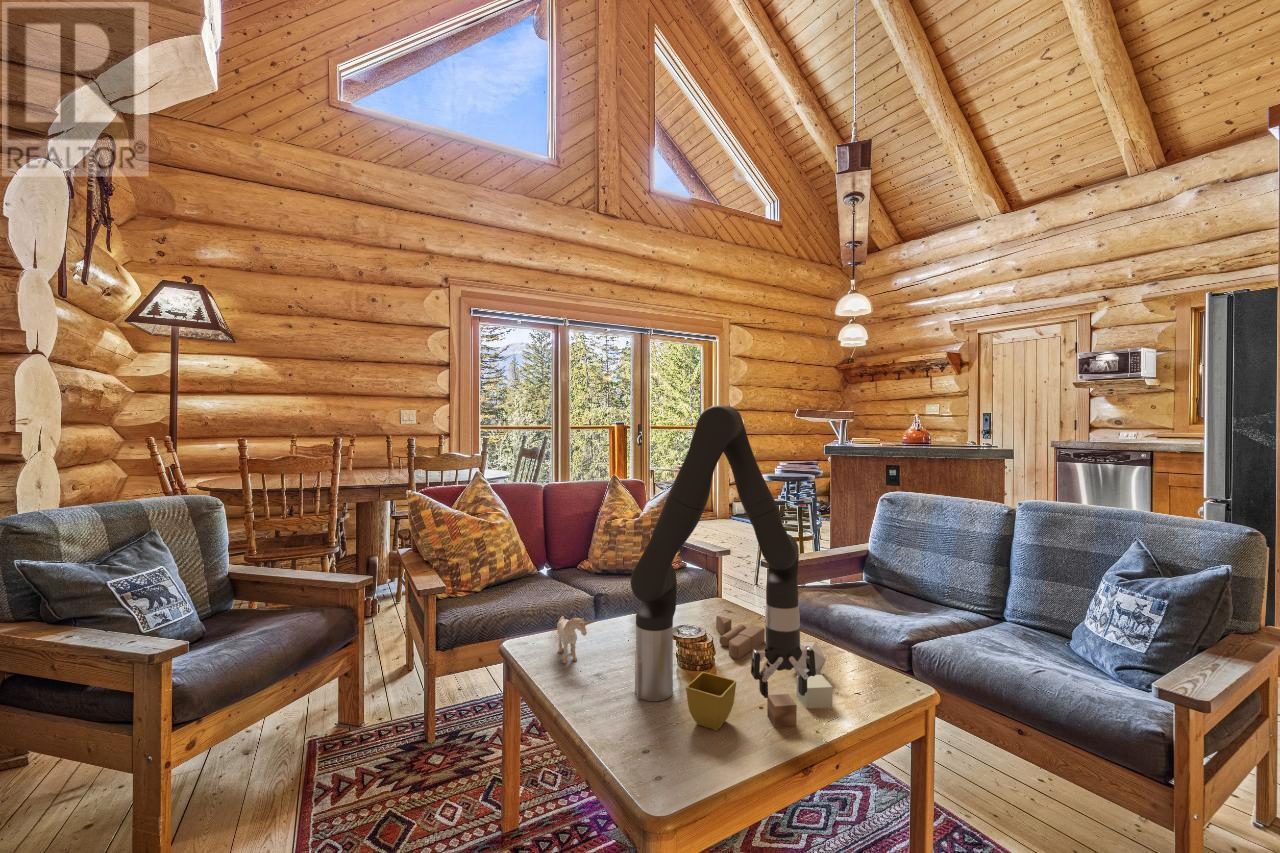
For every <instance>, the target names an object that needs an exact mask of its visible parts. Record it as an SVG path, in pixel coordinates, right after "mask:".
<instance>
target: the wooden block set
mask: <svg viewBox="0 0 1280 853" xmlns="http://www.w3.org/2000/svg"><path fill="white" fill-rule="evenodd" d="M715 619H716V620H715V622H716V623H715V624H716V626H715V628H716V630H717V632H718V633H719V634H720V635H721V636H720V637H719V639H718V640H719V643H720V646H722V647H723V648H724V647H725V648H727V647H728V654H729V656H730V658H731V659H733V660H737V661H738V660H740V659H741V658H742V657H744V656H745V655H746V654H748V653H749V652H752V650H753V649H757V648H758V647H759V646H761V645H762V644H763V643H765V642H766V628H765V627H762V626H757V625H754V624H751V625H750V626H748V627H746V626H745V625H744V624H738V625H737V626H735V627H734V628H732V618H728V617H724V616H721V615H716V618H715Z"/></svg>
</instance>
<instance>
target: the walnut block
mask: <svg viewBox="0 0 1280 853" xmlns="http://www.w3.org/2000/svg"><path fill="white" fill-rule="evenodd" d="M766 700H767V701H766V702H767V705H766V706H767V709H766V710H767V712H766V713H767V714H766V716H767V718H768V720H769V721H770V723H771V725H772V726H773V727H774V729H781V728H782V729H787V728H797V727H798V726H797V725H798V724H797V721H798V720H797V719H798V718H797V712H798V711H797V704H796V702H795V701H794V698H792V696H790V694H789V693H783V694H782V693H781V694H780V693H779V694H768V698H766Z"/></svg>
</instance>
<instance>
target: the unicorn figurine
mask: <svg viewBox="0 0 1280 853" xmlns="http://www.w3.org/2000/svg"><path fill="white" fill-rule="evenodd" d="M584 618H585V617H583V618H580V617H573V618H571V619H565V616H564V615H562V616H561V617H560V618H559V620H558V622H557V624H556V626H557V634H558V645H557V647H558V654H563V653H564V655H562V664H567V662H568V652H569V650H568V645H569V644H570V652H571V655H572V661H573V662H577V661H578V658H577V655H576V648H577V647H576V644H577V641H578V634H577V632H576V630H577V631H579V632H580V633H581V635H582V636H583V637H584V636H585V637H586V635H587V634H588V631H587V628H586V626H588V625H590V624H593V623H596V622H599V619H593V620H590V621H587V622H585V620H584Z"/></svg>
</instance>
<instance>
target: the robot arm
mask: <svg viewBox="0 0 1280 853" xmlns="http://www.w3.org/2000/svg"><path fill="white" fill-rule="evenodd" d="M744 423H745V422H744V420H743V418H742V415H741V413H740V412H739V411H738V410H737V409H736V408H734V406H733V407H732V406H731V405H727V404H726V405H724V404H723V405H722V404H720V405H718V404H717V405H712V406H709V407H707V408H705V410H703V411H702V413H701V414H700V415H699V417H698V420H697V422H696V426H695V429H694V431H693V435H692V438H691V442H690V445H689V447H688V450H687V454H686V456H685V458H684V459H683V460H684V461H683V463H682V464H681V467H679V468H680V469H679V470H678V472H677V475H676V477H675V479H674V481H673V484H672V486H671V488H670V490H669V492H668V495H667V496H666V498H665V500H664V501H665V502H664V504H663V506H662V509H661V511H660V514H659V517H658V518H657V521H656V524H655V527H654V529H653V532H652V534H651V537H650V539H649V541H648V543H647V545H646V547H645V550H644V551H643V553H642V555H641V556H640V558H639V559H638V562H637V563H636V564H635V567H634V569H633V571H632V573H631V575H630V576H631V577H630V588H631V591H632V594H633V595H634V597H635V598H636V599H638V600H639V601H641V603H640V606H639V608H638V610H637V611H636V613H635V614H636V615H635V650H634V690H635V695H636V699H637V700H644V701H649V702H660V701H661V702H662V701H665V700H667V699H670V698H671V697H672V696H673V694H674V616H675V614H676V608H677V587H678V583H677V582H678V580H677V579H678V578H677V572H676V569H675V567H674V565H673V562H674V560H675V557H676V556H677V554H678V552H679V551H680V550H681V548H683V546H684V544H685V543H686V542H687V540H688V539H689V538H690V536H691V535H692V534H693V532H694V530H695V529H696V528H697V526H698V525H699V522H700V520H701V517H702V516H703V512H704V511H705V509H706V507H707V504H708V502H709V497H710V493H711V490H712V488H711V487H712V483H713V482H712V481H713V475H714V472H715V470H716V467H717V464H718V463H719V461H720V458H721V457H722V454H724V456H725V458H726V459H727V461H728V464H729V467H730V470H731V472H732V474H733V479H734V484H735V487H736V491H737V495H738V497H739V500H740V503H741V505H742V506H743V510H744V511H745V513H746V517H747V518H748V520H749V521H750V524H751V525H752V528H753V531H754V534H755V537H756V540H757V543H758V547H759V549H760V552H761V554H762V557H763V559H764V560H765V562H766V563H767V565H768V576H767V579H766V585H765V586H766V587H765V595H766V596H765V599H766V600H765V602H766V603H765V613H764V614H765V616H764V617H765V618H764V623H765V648H764V650H757V648H755V649H753V650H752V651H751V662H750V674H751V676H752V678H753V679H754V680H755V681H757V680H758V681H759V682H758V683H759V684H758V686H759V692H760V694H761V695H762V697H763V698H764V699H767V698H768V695H769V681H768V680H769V678H771V676H772V675H773V674H774V673H775V672H776V670H777V671H779V672H780V671H784V670H786V671H791V670H792V669H794V668H795V669H796V670H797V671H798V673H799V674H800V676H798V675H797V676H798V690H799V693H800V694H801V696H805V693H807V679H808V677H810V676H815V675H816V668H815V655H814V651H813V650H812V649H811V648H810V647H809V646H806V647H805V648H802V649H800V642H801V626H800V624H801V621H800V620H801V619H800V617H801V616H800V608H799V585H798V574H799V561H800V560H799V558H800V554H799V552H800V551H799V550H800V549H799V544H798V541H797V540H796V539H795V537H793V535H791V534H789V533H787V532H786V528H785V527H784V524H783V523H782V516H781V511H780V509H779V507H778V505H777V503H776V501H775V498H774V496H773V495H772V493H771V491H770V488H769V486H768V484H767V481H766V480H765V478H764V476H763V473H762V471H761V469H760V468H759V464H758V463H757V460H756V457H755V456H754V452H753V449H752V447H751V443H750V441H749V438H748V434H747V431H746V426H745V424H744ZM802 654H803V656H804V657H805V658H806V668H807V669H804V670H803V669H802V667H801V666H800V665H799V663H798V660H799V659H800V657H801V656H802ZM764 657H765V658H766V661H765V662H764V664H763V666H762V669H761V662H762V661H763V659H764ZM795 669H794V670H795ZM796 670H795V671H796Z"/></svg>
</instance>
